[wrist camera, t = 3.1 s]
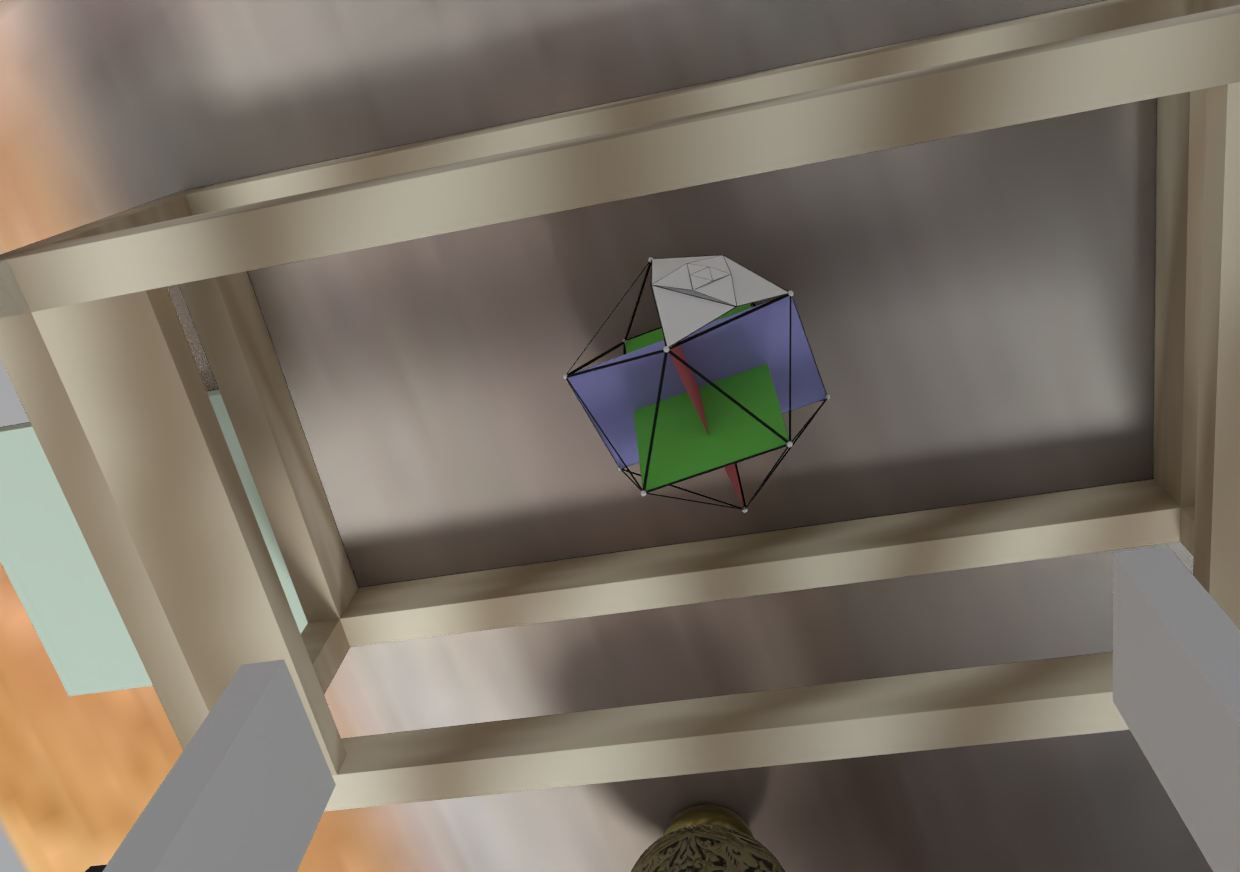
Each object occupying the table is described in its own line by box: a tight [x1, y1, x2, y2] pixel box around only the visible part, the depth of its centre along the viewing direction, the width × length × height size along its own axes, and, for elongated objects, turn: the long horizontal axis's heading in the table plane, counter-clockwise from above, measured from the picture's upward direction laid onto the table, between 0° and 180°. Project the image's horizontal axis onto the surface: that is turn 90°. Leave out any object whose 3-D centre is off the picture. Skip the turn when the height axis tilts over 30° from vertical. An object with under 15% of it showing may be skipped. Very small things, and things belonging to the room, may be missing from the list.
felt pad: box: [0, 390, 308, 696], centre depth 36 cm, size 11×11×1 cm
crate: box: [0, 0, 1240, 811], centre depth 27 cm, size 30×16×10 cm, turn 101°
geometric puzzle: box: [563, 255, 830, 513], centre depth 29 cm, size 7×7×8 cm
